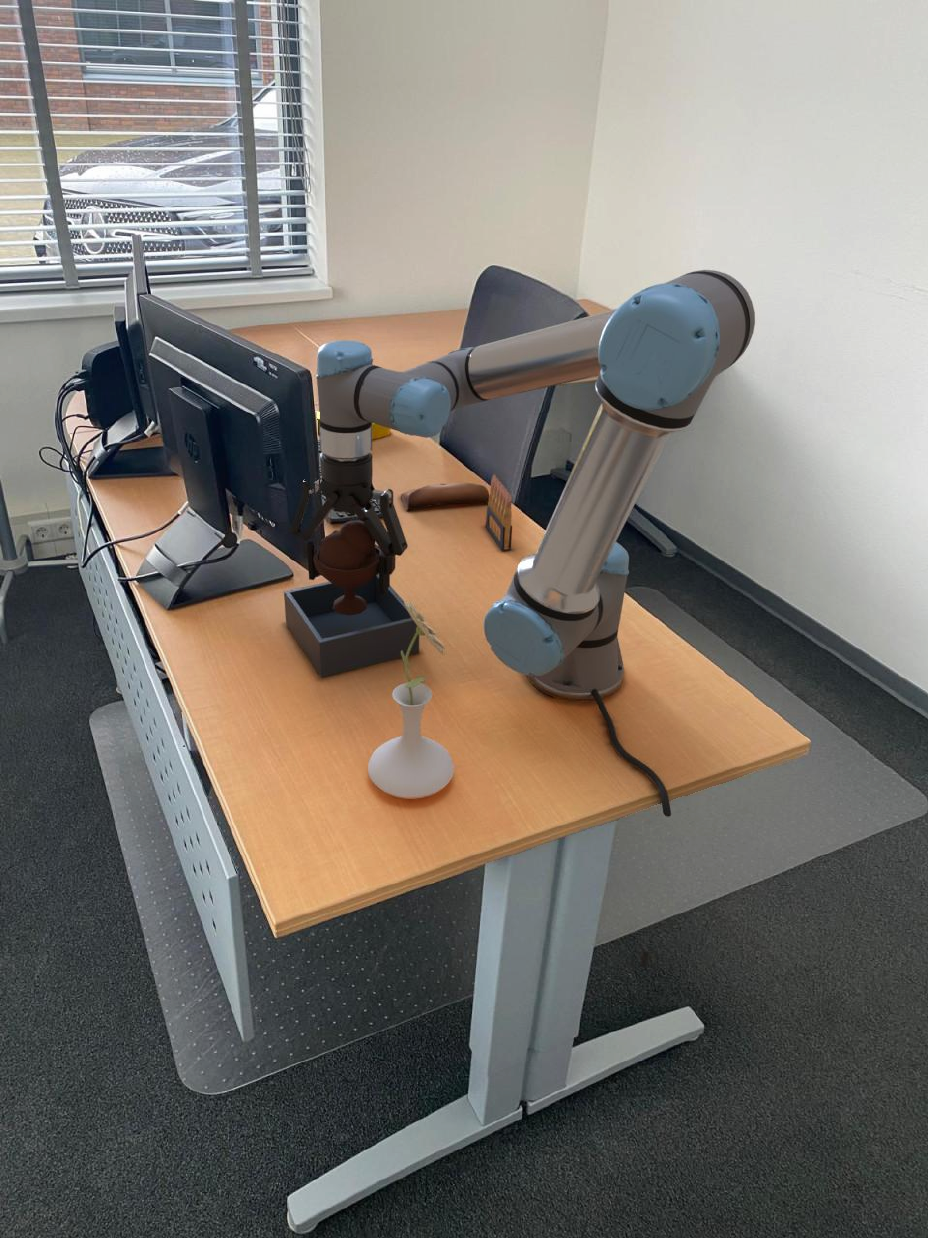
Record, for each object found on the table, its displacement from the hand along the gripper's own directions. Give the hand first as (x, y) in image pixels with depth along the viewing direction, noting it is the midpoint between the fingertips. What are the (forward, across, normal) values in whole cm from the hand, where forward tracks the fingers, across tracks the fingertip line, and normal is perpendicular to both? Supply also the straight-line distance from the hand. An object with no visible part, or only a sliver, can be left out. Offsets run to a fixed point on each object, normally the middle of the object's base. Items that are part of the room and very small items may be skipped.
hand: (349, 582), depth 143 cm
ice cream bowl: (+5, 0, 0) cm, 5 cm away
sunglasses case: (+11, +2, -56) cm, 57 cm away
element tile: (+11, +36, -86) cm, 94 cm away
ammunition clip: (+11, -13, -43) cm, 47 cm away
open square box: (+10, 0, 0) cm, 10 cm away
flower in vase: (+10, -20, +27) cm, 36 cm away
